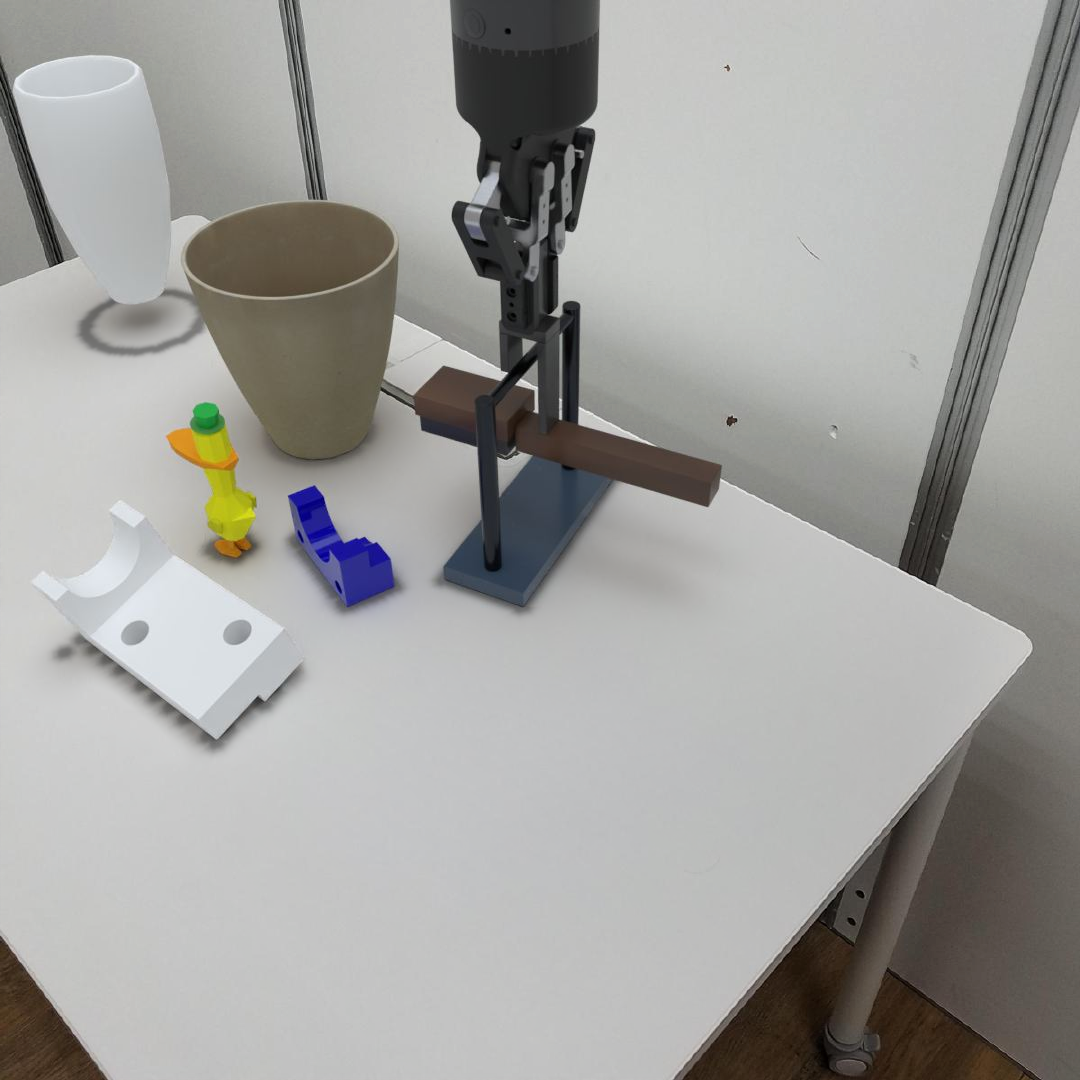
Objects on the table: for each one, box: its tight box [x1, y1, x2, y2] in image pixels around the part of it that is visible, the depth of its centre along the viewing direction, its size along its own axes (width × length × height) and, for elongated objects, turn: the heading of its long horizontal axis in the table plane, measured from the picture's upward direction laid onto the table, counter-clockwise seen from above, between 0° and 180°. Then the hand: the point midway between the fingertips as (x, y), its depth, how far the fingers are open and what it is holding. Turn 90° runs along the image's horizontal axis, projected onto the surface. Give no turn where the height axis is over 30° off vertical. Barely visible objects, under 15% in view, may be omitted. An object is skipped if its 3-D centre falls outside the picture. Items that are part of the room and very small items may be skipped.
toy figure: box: [165, 401, 258, 559], centre depth 74 cm, size 7×4×12 cm, turn 57°
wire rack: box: [442, 300, 613, 607], centre depth 74 cm, size 6×15×15 cm, turn 154°
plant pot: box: [180, 199, 400, 460], centre depth 82 cm, size 15×15×16 cm
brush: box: [412, 239, 723, 508], centre depth 69 cm, size 4×20×15 cm, turn 64°
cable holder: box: [287, 484, 395, 608], centre depth 75 cm, size 8×4×4 cm, turn 33°
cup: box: [12, 54, 172, 305], centre depth 93 cm, size 10×10×22 cm
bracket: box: [30, 499, 306, 741], centre depth 67 cm, size 13×7×8 cm, turn 51°
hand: (530, 318), depth 68 cm, fingers closed on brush, 2 cm apart
